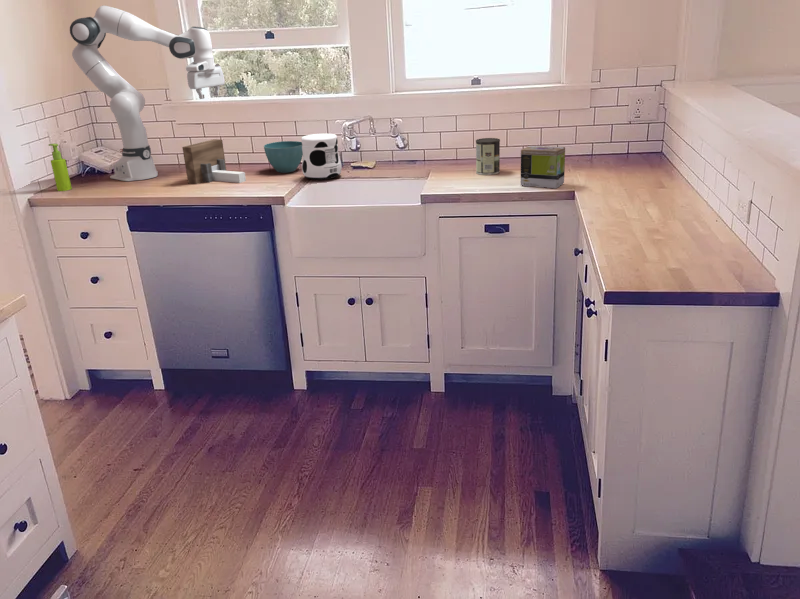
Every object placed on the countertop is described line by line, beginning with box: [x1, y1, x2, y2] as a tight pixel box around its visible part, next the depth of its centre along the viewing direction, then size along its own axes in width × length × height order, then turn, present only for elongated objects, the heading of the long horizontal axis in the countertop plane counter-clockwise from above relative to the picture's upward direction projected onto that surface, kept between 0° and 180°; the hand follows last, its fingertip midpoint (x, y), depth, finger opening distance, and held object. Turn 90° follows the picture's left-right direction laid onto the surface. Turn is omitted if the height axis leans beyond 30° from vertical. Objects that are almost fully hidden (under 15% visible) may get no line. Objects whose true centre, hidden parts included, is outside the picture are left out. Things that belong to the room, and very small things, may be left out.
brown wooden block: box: [181, 138, 228, 185], centre depth 313 cm, size 8×20×16 cm, turn 152°
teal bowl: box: [263, 140, 303, 174], centre depth 323 cm, size 18×18×12 cm
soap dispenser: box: [48, 143, 73, 192], centre depth 306 cm, size 6×7×20 cm
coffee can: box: [475, 137, 501, 176], centre depth 301 cm, size 10×10×14 cm
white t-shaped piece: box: [211, 165, 247, 184], centre depth 311 cm, size 17×8×6 cm, turn 62°
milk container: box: [301, 133, 342, 181], centre depth 305 cm, size 17×17×18 cm
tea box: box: [520, 145, 566, 189], centre depth 275 cm, size 15×10×15 cm
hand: (209, 97), depth 317 cm, fingers open, 8 cm apart
